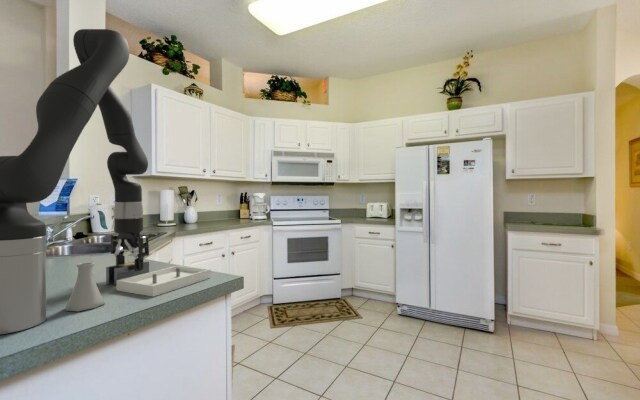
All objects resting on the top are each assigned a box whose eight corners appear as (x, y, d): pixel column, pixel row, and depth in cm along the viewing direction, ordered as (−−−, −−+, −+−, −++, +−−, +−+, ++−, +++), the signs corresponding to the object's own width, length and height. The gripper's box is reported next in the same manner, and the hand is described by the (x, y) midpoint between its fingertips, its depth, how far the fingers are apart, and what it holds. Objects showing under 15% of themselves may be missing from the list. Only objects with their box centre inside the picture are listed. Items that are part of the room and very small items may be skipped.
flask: (58, 309, 68) (58, 265, 68) (94, 299, 74) (94, 259, 74) (74, 314, 64) (74, 268, 64) (111, 304, 71) (111, 262, 71)
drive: (117, 285, 86) (117, 268, 86) (106, 283, 88) (106, 266, 88) (149, 277, 96) (149, 261, 96) (138, 276, 97) (138, 260, 98)
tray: (153, 296, 76) (153, 282, 76) (116, 290, 82) (116, 276, 82) (210, 277, 95) (210, 266, 95) (177, 273, 100) (177, 262, 100)
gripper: (101, 217, 91) (102, 269, 92) (132, 218, 86) (133, 274, 86) (125, 215, 98) (126, 264, 99) (156, 216, 93) (156, 268, 93)
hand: (129, 269), depth 92 cm, fingers open, 8 cm apart
